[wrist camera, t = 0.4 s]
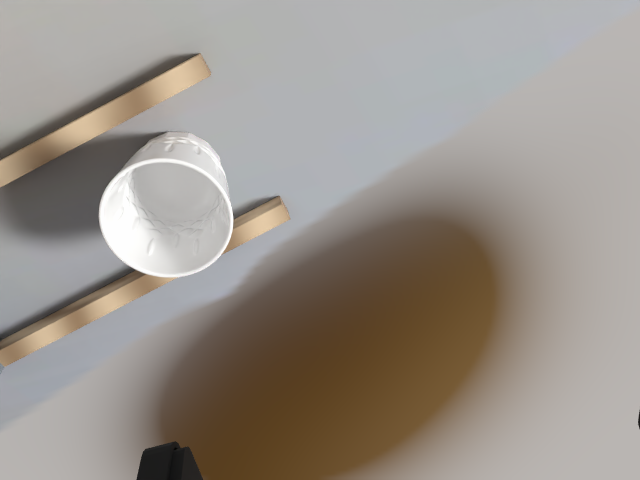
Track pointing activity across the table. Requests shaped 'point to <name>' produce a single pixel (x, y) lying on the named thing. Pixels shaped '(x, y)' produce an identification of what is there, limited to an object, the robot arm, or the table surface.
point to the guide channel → (135, 281)
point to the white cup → (168, 207)
